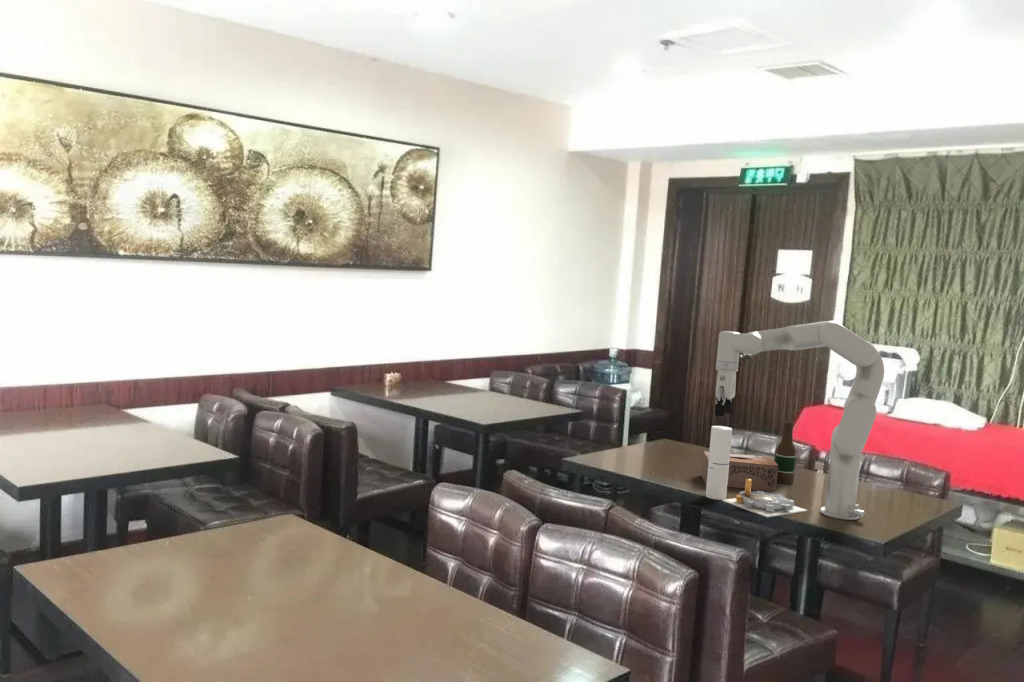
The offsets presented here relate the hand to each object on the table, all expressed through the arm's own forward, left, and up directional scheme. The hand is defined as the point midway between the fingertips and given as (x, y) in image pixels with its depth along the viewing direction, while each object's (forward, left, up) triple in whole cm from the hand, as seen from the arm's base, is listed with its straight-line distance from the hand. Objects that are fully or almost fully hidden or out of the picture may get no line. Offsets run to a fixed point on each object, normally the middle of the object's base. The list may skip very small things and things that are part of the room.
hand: (722, 414), depth 291 cm
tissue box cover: (+12, -24, -30) cm, 40 cm away
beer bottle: (+7, -44, -30) cm, 54 cm away
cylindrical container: (0, 0, -30) cm, 30 cm away
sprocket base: (-15, -8, -30) cm, 34 cm away
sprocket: (-15, -8, -30) cm, 34 cm away
